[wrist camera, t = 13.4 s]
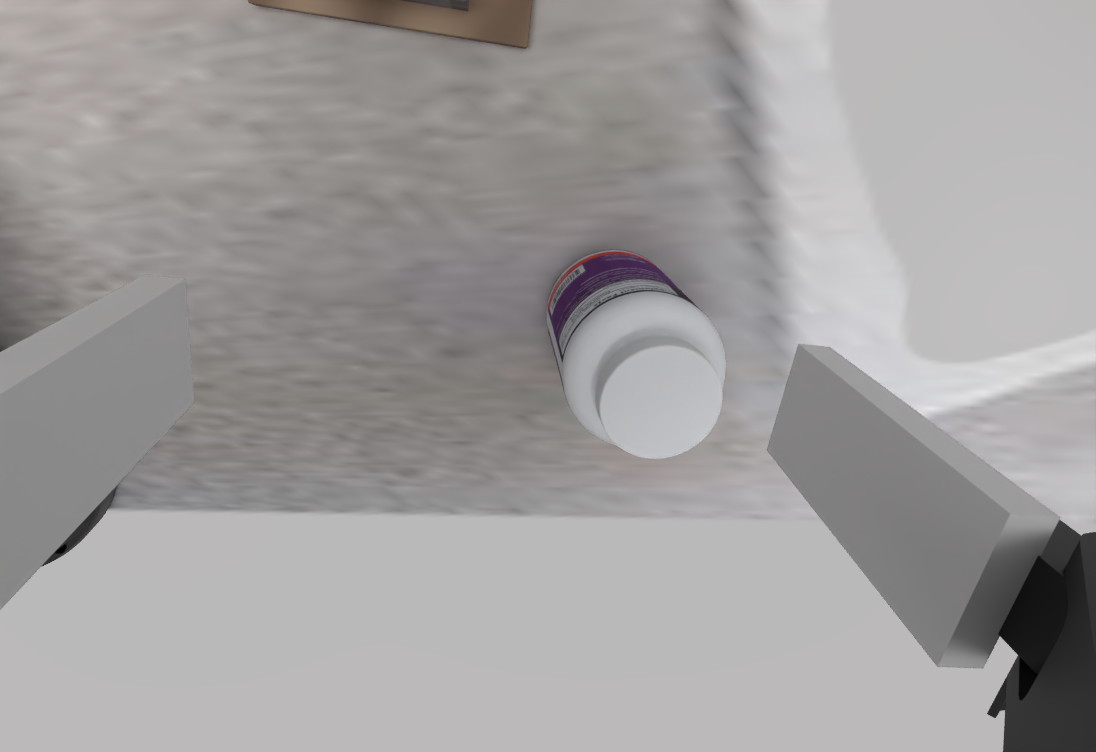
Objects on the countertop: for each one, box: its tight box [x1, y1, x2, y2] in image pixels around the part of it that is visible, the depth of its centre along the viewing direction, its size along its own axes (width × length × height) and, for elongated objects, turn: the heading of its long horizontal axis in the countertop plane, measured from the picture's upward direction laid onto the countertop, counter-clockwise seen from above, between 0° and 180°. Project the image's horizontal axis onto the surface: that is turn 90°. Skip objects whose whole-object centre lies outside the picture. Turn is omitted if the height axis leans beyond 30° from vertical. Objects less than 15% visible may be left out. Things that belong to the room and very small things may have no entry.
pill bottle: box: [547, 250, 726, 459], centre depth 36 cm, size 8×8×14 cm
